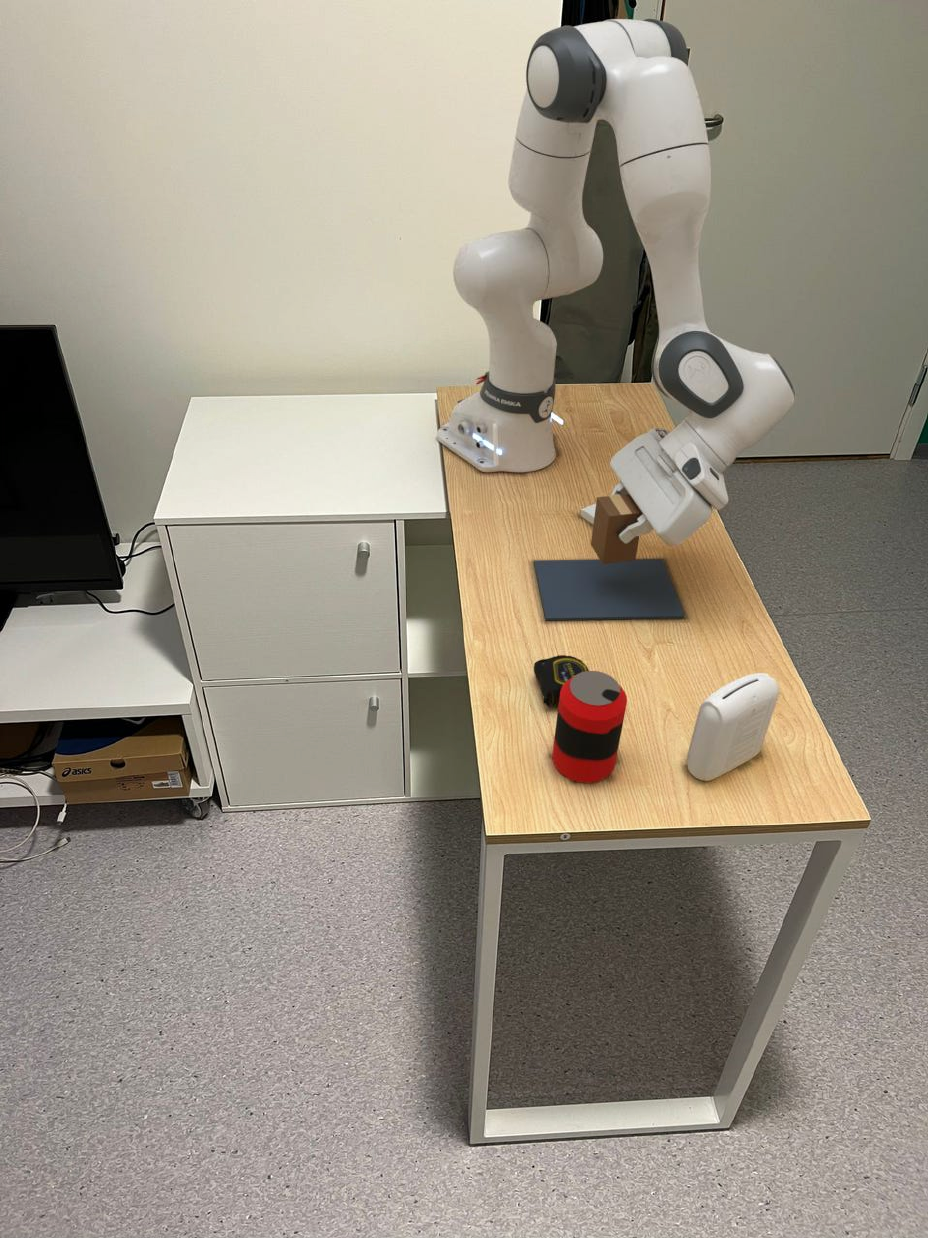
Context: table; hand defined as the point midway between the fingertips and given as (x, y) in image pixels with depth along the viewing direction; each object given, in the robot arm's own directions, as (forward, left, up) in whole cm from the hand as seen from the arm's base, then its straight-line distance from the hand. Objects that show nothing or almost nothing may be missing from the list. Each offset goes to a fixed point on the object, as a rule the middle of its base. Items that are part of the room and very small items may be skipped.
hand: (612, 526), depth 135 cm
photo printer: (+30, -17, -12) cm, 37 cm away
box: (0, +1, -5) cm, 5 cm away
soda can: (+18, -29, -12) cm, 36 cm away
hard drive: (-10, +19, -12) cm, 24 cm away
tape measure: (+9, -22, -12) cm, 27 cm away
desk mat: (0, +1, -11) cm, 11 cm away
